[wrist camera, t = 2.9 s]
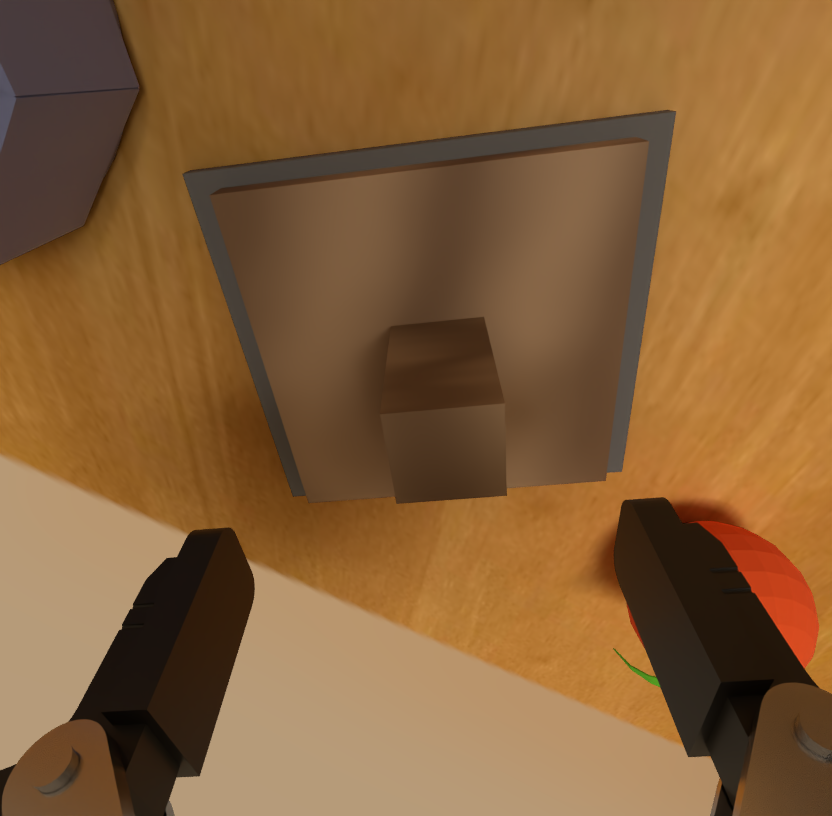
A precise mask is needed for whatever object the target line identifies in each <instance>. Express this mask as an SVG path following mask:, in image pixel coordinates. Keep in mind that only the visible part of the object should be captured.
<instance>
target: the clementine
mask: <svg viewBox="0 0 832 816" xmlns="http://www.w3.org/2000/svg"><path fill="white" fill-rule="evenodd" d="M696 522H697V523H699V524H700V525H701V526H702V527H704V528H705V529H706V530H707V531H708V532H710V533H711V534H712V535H713V536H715V537H716V538H717V539H718V540H720V541H721V542H722V543H723V545H724V546H725V548H726V549H727V551H728V553H729V554H730V556H731V557H732V559H733V560H734V562H735V563H736V565H737V566H738V571H739V572H742V574H743V576H744V577H745V579H746V580H747V582H748V583H749V585H750V586H751V591H752V592H753V593H755V594H756V595H757V597H758V599H759V600H760V602H761V603H762V605H763V606H764V608H765V609H766V611H767V612H768V614H769V615H770V617H771V618H772V620H773V622H774V623H775V625H776V626H777V628H778V629H779V631H780V632H781V634H782V635H783V637H784V638H785V640H786V641H787V643H788V645H789V646H790V648H791V649H792V651H793V652H794V654H795V655H796V657H797V658H798V660H799V661H800V663H801V664H802V666H803V668H804V669H805V667H806V666H807V664H808V663H809V662H810V660H811V659H812V657H813V654H814V651H815V647H816V641H817V636H818V630H819V623H818V618H817V613H816V607H815V603H814V599H813V595H812V592H811V590H810V589H809V587H808V585H807V583H806V581H805V579H804V578H803V576H802V574H801V572H800V571H799V570H798V569H797V568H796V567H795V566H794V565H793V564H792V563H791V561H790V560H789V559H788V558H787V557H786V556H785V555H784V554H783V553H782V552H781V551H780V550H779V549H778V548H777V547H776V546H775V545H773V544H771V543H770V542H768V541H766V540H765V539H763V538H761V537H760V536H758V535H756V534H754V533H752V532H750V531H748V530H746V529H744V528H741V527H737V526H733V525H729V524H725V523H720V522H715V521H695V522H689V523H696ZM627 608H628V613H629V617H630V622H631V624H632V626H633V628H634V630H635V632H636V634H637V636H638V637H639V639H640V641H641V643H642V644H643V642H642V640H641V637H640V635H639V632H638V629H637V627H636V624H635V622H634V619H633V617H632V614H631V612H630V609H629V607H628V604H627ZM643 646H644V645H643ZM644 648H645V647H644ZM613 649H614V648H613ZM614 650H615V649H614ZM615 651H616V650H615ZM616 653H617V654H618V655H619V656H620V657H621V658H622V660H623V661H624V662H625V663H626V664H627V665H628V666H629V668H630V669H631V670H632V671H634V672H635V673H637V674H638V675H640V676H641V677H643V678H644V679H645V680H647V681H648V682H650V683H651V684H654V685H656V686H659V687H660V685H659V682H658V680H657V677H655V676H650V675H648V674H646V673H644V672H642V671H640V670H639V669H637V668H635V667H633V666H631V665H630V664H629V663H628V662H627V661H626V660H625V659H624V658H623V657H622V656H621V655H620V654H619V653H618V652H617V651H616Z"/></svg>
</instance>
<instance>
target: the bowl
mask: <svg viewBox="0 0 832 816" xmlns="http://www.w3.org/2000/svg"><path fill="white" fill-rule="evenodd" d="M138 87H139V84H138V81H137V78H136V75H135V73H134V70H133V67H132V64H131V61H130V59H129V56H128V53H127V50H126V47H125V44H124V42H123V39H122V34H121V29H120V24H119V19H118V15H117V11H116V8H115V5H114V1H113V0H0V265H1V264H3V263H5V262H7V261H9V260H11V259H14V258H16V257H18V256H20V255H22V254H24V253H26V252H29V251H31V250H33V249H35V248H37V247H39V246H41V245H43V244H46V243H48V242H50V241H52V240H54V239H56V238H58V237H61V236H63V235H65V234H67V233H69V232H71V231H73V230H75V229H78V228H80V227H82V226H84V224H85V221H86V219H87V216H88V214H89V212H90V209H91V207H92V204H93V202H94V199H95V197H96V194H97V192H98V190H99V187H100V185H101V182H102V180H103V178H104V177H105V176H106V174H107V172H108V170H109V168H110V166H111V164H112V162H113V160H114V158H115V156H116V153H117V149H118V146H119V143H120V140H121V137H122V133H123V128H124V126H125V124H126V121H127V119H128V116H129V114H130V111H131V109H132V106H133V104H134V102H135V99H136V97H137V94H138V92H139V88H138Z"/></svg>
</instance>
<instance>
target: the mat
mask: <svg viewBox="0 0 832 816" xmlns="http://www.w3.org/2000/svg"><path fill="white" fill-rule="evenodd" d="M675 115H676V111H670V110H663V111H655V112H647V113H639V114H632V115H624V116H616V117H608V118H600V119H592V120H584V121H576V122H569V123H561V124H553V125H545V126H537V127H529V128H521V129H513V130H505V131H498V132H490V133H482V134H474V135H466V136H458V137H450V138H442V139H435V140H427V141H419V142H411V143H403V144H395V145H387V146H379V147H371V148H364V149H356V150H348V151H340V152H332V153H324V154H316V155H308V156H301V157H293V158H285V159H277V160H269V161H261V162H253V163H245V164H237V165H230V166H222V167H214V168H206V169H198V170H190V171H188V172H186V173H184V174H183V177H184V180H185V183H186V186H187V188H188V191H189V194H190V197H191V200H192V203H193V206H194V209H195V212H196V215H197V218H198V221H199V223H200V226H201V229H202V232H203V235H204V238H205V241H206V244H207V247H208V250H209V253H210V256H211V258H212V261H213V264H214V267H215V270H216V273H217V276H218V279H219V282H220V285H221V288H222V291H223V293H224V296H225V299H226V302H227V305H228V308H229V311H230V314H231V317H232V320H233V323H234V326H235V328H236V331H237V334H238V337H239V340H240V343H241V346H242V349H243V352H244V355H245V358H246V361H247V363H248V366H249V369H250V372H251V375H252V378H253V381H254V384H255V387H256V390H257V393H258V396H259V398H260V401H261V404H262V407H263V410H264V413H265V416H266V419H267V422H268V425H269V428H270V431H271V433H272V436H273V439H274V442H275V445H276V448H277V451H278V454H279V457H280V460H281V463H282V466H283V468H284V471H285V474H286V477H287V480H288V483H289V486H290V489H291V492H292V495H293V497H294V496H306V494H305V490H304V487H303V484H302V481H301V478H300V475H299V472H298V469H297V466H296V463H295V459H294V456H293V453H292V450H291V447H290V444H289V441H288V438H287V435H286V432H285V428H284V425H283V422H282V419H281V416H280V413H279V410H278V407H277V404H276V401H275V397H274V394H273V391H272V388H271V385H270V382H269V379H268V376H267V373H266V370H265V366H264V363H263V360H262V357H261V354H260V351H259V348H258V345H257V342H256V339H255V335H254V332H253V329H252V326H251V323H250V320H249V317H248V314H247V311H246V308H245V304H244V301H243V298H242V295H241V292H240V289H239V286H238V283H237V280H236V277H235V273H234V270H233V267H232V264H231V261H230V258H229V255H228V252H227V249H226V246H225V242H224V239H223V236H222V233H221V230H220V227H219V224H218V221H217V218H216V215H215V211H214V208H213V205H212V202H211V199H210V196H209V195H211V194H212V193H214V192H215V191H217V190H219V189H220V188H226V187H234V186H242V185H250V184H258V183H267V182H275V181H283V180H291V179H299V178H307V177H315V176H323V175H331V174H339V173H347V172H356V171H364V170H372V169H380V168H388V167H396V166H404V165H412V164H420V163H428V162H436V161H444V160H453V159H461V158H469V157H477V156H485V155H493V154H501V153H509V152H517V151H525V150H533V149H542V148H550V147H558V146H566V145H574V144H582V143H590V142H598V141H606V140H614V139H622V138H631V137H638V138H641V139H644V140H647V141H649V147H648V155H647V163H646V171H645V178H644V186H643V194H642V202H641V210H640V217H639V225H638V233H637V241H636V249H635V256H634V264H633V272H632V280H631V287H630V295H629V303H628V311H627V319H626V326H625V334H624V342H623V350H622V358H621V365H620V373H619V381H618V389H617V396H616V404H615V412H614V420H613V428H612V435H611V443H610V451H609V459H608V467H607V473H609V472H622V468H623V461H624V454H625V448H626V441H627V434H628V428H629V421H630V414H631V408H632V401H633V394H634V388H635V381H636V374H637V368H638V361H639V355H640V348H641V341H642V335H643V328H644V321H645V315H646V308H647V301H648V295H649V288H650V281H651V275H652V268H653V261H654V255H655V248H656V242H657V235H658V228H659V222H660V215H661V208H662V202H663V195H664V188H665V182H666V175H667V168H668V162H669V155H670V148H671V142H672V135H673V129H674V122H675Z"/></svg>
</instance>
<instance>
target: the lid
mask: <svg viewBox="0 0 832 816" xmlns="http://www.w3.org/2000/svg"><path fill="white" fill-rule="evenodd" d="M648 147H649V141H647V140H644V139H641V138H638V137H631V138H622V139H614V140H606V141H598V142H590V143H582V144H574V145H566V146H558V147H550V148H542V149H533V150H525V151H517V152H509V153H501V154H493V155H485V156H477V157H469V158H461V159H453V160H444V161H436V162H428V163H420V164H412V165H404V166H396V167H388V168H380V169H372V170H364V171H356V172H347V173H339V174H331V175H323V176H315V177H307V178H299V179H291V180H283V181H275V182H267V183H258V184H250V185H242V186H234V187H226V188H220V189H219V190H217V191H215V192H214V193H212V194H211V195H209V196H210V199H211V202H212V205H213V208H214V211H215V215H216V218H217V221H218V224H219V227H220V230H221V233H222V236H223V239H224V242H225V246H226V249H227V252H228V255H229V258H230V261H231V264H232V267H233V270H234V273H235V277H236V280H237V283H238V286H239V289H240V292H241V295H242V298H243V301H244V304H245V308H246V311H247V314H248V317H249V320H250V323H251V326H252V329H253V332H254V335H255V339H256V342H257V345H258V348H259V351H260V354H261V357H262V360H263V363H264V366H265V370H266V373H267V376H268V379H269V382H270V385H271V388H272V391H273V394H274V397H275V401H276V404H277V407H278V410H279V413H280V416H281V419H282V422H283V425H284V428H285V432H286V435H287V438H288V441H289V444H290V447H291V450H292V453H293V456H294V459H295V463H296V466H297V469H298V472H299V475H300V478H301V481H302V484H303V487H304V490H305V494H306V497H307V500H308V503H316V502H329V501H343V500H356V499H369V498H383V497H395V498H396V503H397V504H399V503H413V502H426V501H440V500H453V499H467V498H481V497H494V496H507V488H516V487H529V486H543V485H556V484H569V483H583V482H596V481H606V474H607V467H608V459H609V451H610V443H611V435H612V428H613V420H614V412H615V404H616V396H617V389H618V381H619V373H620V365H621V358H622V350H623V342H624V334H625V326H626V319H627V311H628V303H629V295H630V287H631V280H632V272H633V264H634V256H635V249H636V241H637V233H638V225H639V217H640V210H641V202H642V194H643V186H644V178H645V171H646V163H647V155H648Z"/></svg>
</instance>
